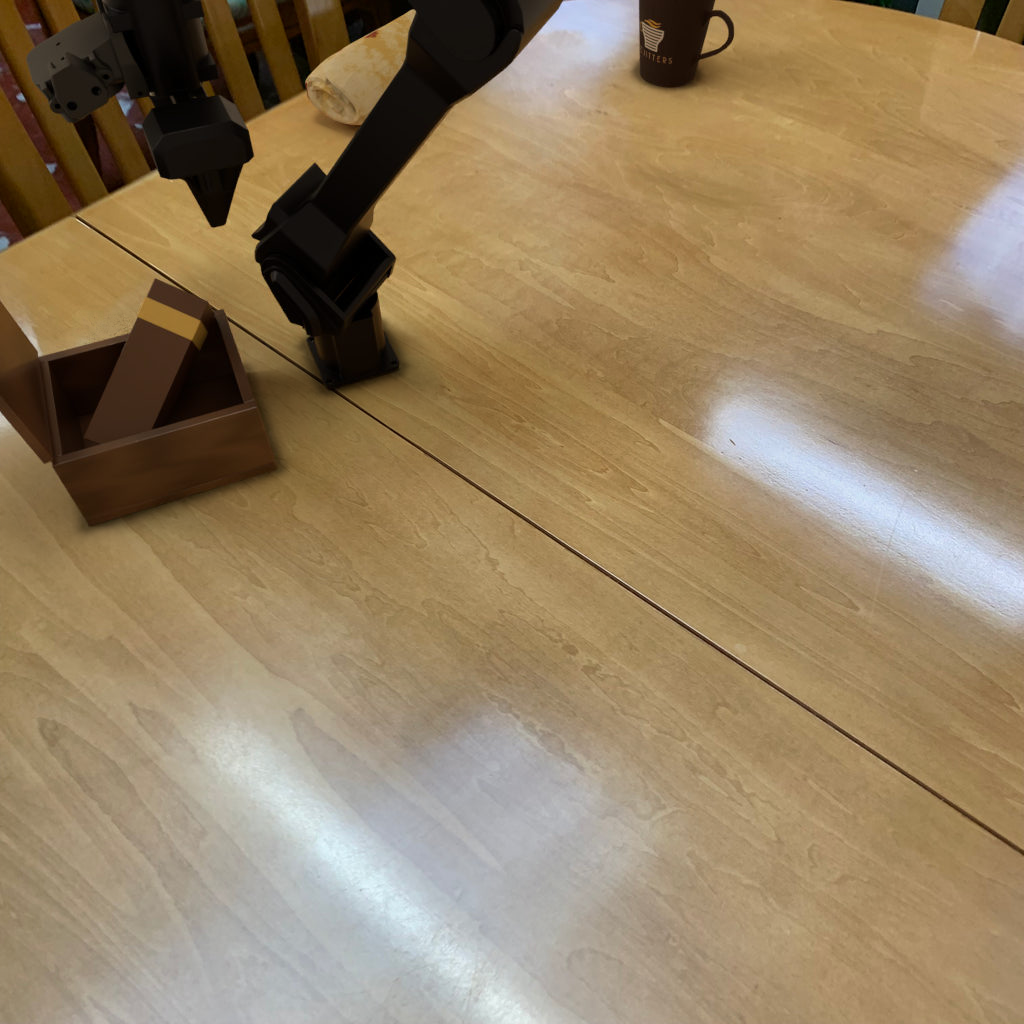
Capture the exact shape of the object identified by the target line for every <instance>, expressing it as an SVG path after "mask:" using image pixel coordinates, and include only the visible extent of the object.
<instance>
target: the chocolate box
mask: <svg viewBox="0 0 1024 1024" xmlns="http://www.w3.org/2000/svg"><path fill="white" fill-rule="evenodd" d="M214 311H215V310H213V307H212V306H211V304H210V302H209V300H206V299H203V298H201V297H200V296H197V295H194V294H192V293H190V292H187V291H185V290H183V289H181V288H178V287H177V286H175V285H172V284H170V283H167V282H165V281H163V280H161V279H158V278H156V277H155V278H154V279H153V282H152V283H151V286H150V288H149V290H148V292H147V295H146V296H145V297H144V299H143V302H142V304H141V306H140V308H139V310H138V312H137V315H136V319H135V321H134V323H133V325H132V328H131V330H130V331H129V333H130V335H129V337H128V339H127V341H126V343H125V346H124V348H123V350H122V352H121V355H120V357H119V359H118V361H117V363H116V366H115V368H114V370H113V372H112V375H111V377H110V379H109V381H108V383H107V386H106V388H105V390H104V392H103V395H102V397H101V399H100V401H99V403H98V406H97V408H96V410H95V412H94V415H93V417H92V419H91V421H90V423H89V426H88V428H87V430H86V432H85V435H84V437H83V438H84V439H87V440H89V441H92V442H94V443H97V444H99V445H100V444H104V443H107V442H111V441H114V440H118V439H121V438H125V437H128V436H132V435H135V434H139V433H142V432H146V431H149V430H153V429H156V428H160V427H163V426H166V424H167V422H168V420H169V418H170V415H171V413H172V411H173V409H174V406H175V404H176V402H177V400H178V397H179V395H180V393H181V391H182V388H183V386H184V384H185V382H186V379H187V377H188V375H189V373H190V370H191V368H192V366H193V363H194V361H195V359H196V357H197V354H198V352H199V351H200V350H201V347H202V345H203V343H204V341H205V338H206V336H207V334H208V330H209V327H210V325H211V323H212V321H213V318H214V316H215V313H214Z"/></svg>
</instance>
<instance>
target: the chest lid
mask: <svg viewBox="0 0 1024 1024" xmlns="http://www.w3.org/2000/svg"><path fill="white" fill-rule="evenodd" d="M39 357H40V356H39V352H38V350H37V348H36V347H35V346H34V344H33V343H32V342H31V340H30V339H29V338H28V336H27V335H26V333H25V332H24V330H23V329H22V328H21V327H20V325H19V323H17V321H16V320H15V318H14V317H13V315H12V314H11V313H10V311H9V310H8V309H7V307H6V306H5V304H3V302H2V301H1V300H0V414H1V415H2V416H3V417H4V418H5V420H6V421H7V422H8V423H9V424H10V425H11V427H12V428H13V429H14V430H15V431H16V433H17V434H18V435H19V436H20V437H21V438H22V439H23V441H24V442H25V443H26V444H27V446H28V447H29V448H30V449H31V451H33V453H34V454H35V455H36V456H37V457H38V459H39V460H40V461H41V462H42V463H43V464H47V463H50V462H51V461H53V460H54V459H53V452H52V445H51V439H50V432H49V425H48V418H47V411H46V405H45V398H44V391H43V384H42V377H41V371H40V364H39Z"/></svg>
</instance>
